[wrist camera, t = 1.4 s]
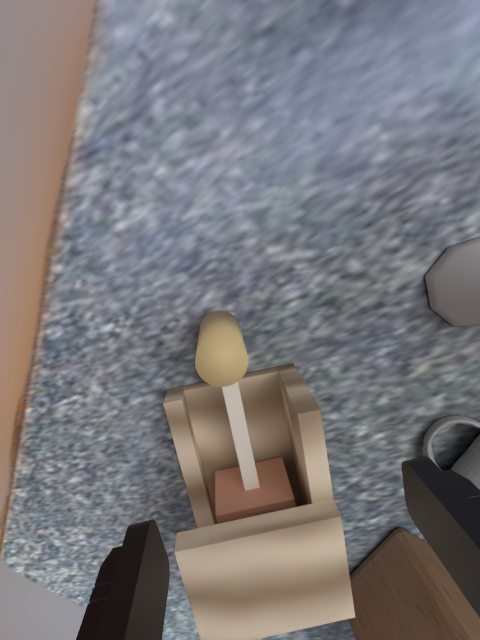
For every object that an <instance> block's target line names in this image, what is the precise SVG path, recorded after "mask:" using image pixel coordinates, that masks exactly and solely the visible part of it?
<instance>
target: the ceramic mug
mask: <svg viewBox="0 0 480 640" xmlns="http://www.w3.org/2000/svg"><path fill="white" fill-rule="evenodd" d="M457 423H461V424H470V425H472V426H474V427H477V428H479V429H480V422H478V421H476V420H473V419H470V418H467V417H464V416H457V415H455V416H447V417H444V418H441V419H439V420H437V421H436V422H435V423H433V424H432V425H431V427H430V428H429V429H428V430H427V432H426V434H425V436H424V440H423V448H424V452H425V455H426V456H427V457H429V458H430V459H431V460H432V461H433V462H434V463H435V464H436V462H435V460H434V457H433V451H432V440H433V438H434V437H435V436H436V434H437V433H439V432H440V431H442V430H444V429H447V428H448V427H449V426H450V425H455V424H457ZM436 465H437V464H436ZM450 470H453V471H454V472H456V473H458V474H460V475H462V476H464V477H465V478H467V479H469V480H470V481H471V482H472V483H473V484H474V485H475V486H476V487H477V488H478V489H479V490H480V434H479V435H478V437H477V438H476V439H475V440H474V442H473V443H472V444H471V445H470V447H469V448H468V449H467V450H466V452H465V453H464V454H463V455H462V456H461V457H460V458H459V459H458V461H457V462H456V463H455V464H454V465H453V467H452V468H451V469H450Z"/></svg>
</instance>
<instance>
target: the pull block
mask: <svg viewBox="0 0 480 640" xmlns="http://www.w3.org/2000/svg"><path fill="white" fill-rule="evenodd" d="M195 366H196V370H197V372H198V374H199V376H200V377H201V378H202V379H203V380H204V381H205V382H207V383H208V384H210V385H213V386H217V387H222V390H223V394H224V399H225V403H226V408H227V412H228V417H229V421H230V426H231V430H232V435H233V439H234V444H235V448H236V453H237V457H238V462H239V466H237V467H232V468H227V469H223V470H218V471H215V509H216V520H217V524H220V523H225V522H229V521H234V520H239V519H243V518H248V517H252V516H257V515H262V514H266V513H271V512H276V511H280V510H285V509H290V508H294V507H296V505H295V499H294V496H293V492H292V489H291V486H290V482H289V479H288V476H287V472H286V469H285V466H284V462H283V459H282V457H279V458H274V459H270V460H265V461H260V462H256V463H255V461H254V456H253V451H252V447H251V442H250V437H249V432H248V427H247V423H246V418H245V413H244V408H243V404H242V399H241V394H240V389H239V384H238V381H239V380H240V379H241V378H242V377H243V376H244V374H245V373H246V371H247V368H248V355H247V352H246V348H245V344H244V340H243V337H242V333H241V329H240V325H239V322H238V320H237V319H236V318H235V317H234V316H233V315H232V314H231V313H229V312H226V311H214V312H211V313H210V314H208V315H207V316H206V317H205V318H204V319H203V320H202V322H201V325H200V331H199V338H198V344H197V351H196V358H195Z"/></svg>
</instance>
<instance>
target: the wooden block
mask: <svg viewBox="0 0 480 640" xmlns="http://www.w3.org/2000/svg"><path fill="white" fill-rule="evenodd" d="M350 583H351V590H352V597H353V604H354V611H355V617H354V618H350V619H349V621H350V624H351V627H352V629H353V632H354V635H355V638H356V640H480V618H479V616H478V615H477V613H476V612H475V610H474V609H473V608H472V606H471V605H470V603H469V602H468V600H467V599H466V597H465V596H464V594H463V593H462V592H461V590H460V589H459V587H458V586H457V584H456V583H455V581H454V580H453V578H452V577H451V576H450V574H449V573H448V571H447V570H446V568H445V567H444V565H443V564H442V562H441V561H440V559H439V558H438V557H437V555H436V554H435V552H434V551H433V549H432V548H431V546H430V545H428V544H427V543H425V542H424V541H422V540H421V539H419V538H418V537H416V536H414V535H413V534H411V533H410V532H408V531H407V530H405V529H403V528H399V529H396V530H394V531H393V532H392V533H391V534H390V535H389V536H388V537H387V538H386V539H385V540H384V541H383V542H382V543H381V544H380V545H379V546H378V547H377V548H376V549H375V551H374V552H373V553H372V554H371V555H370V556H369V557H368V558H367V559H366V560H365V561H364V562H363V563H362V564H361V565H360V566H359V567H358V568H357V569H356V570H355V571H354V572H353V573H352V574H351V575H350Z"/></svg>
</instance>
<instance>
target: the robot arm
mask: <svg viewBox="0 0 480 640" xmlns="http://www.w3.org/2000/svg"><path fill="white" fill-rule="evenodd" d="M402 473H403V483H404V492H405V501H406V505H407V508H408V511H409V513H410V516H411V518H412V520H413V521H414V523H415V525H416V526H417V527H418V529H419V530H420V532H421V533H422V535H423V536H424V538H425V539H426V541H427V542H428V543H429V545H430V546H431V548H432V549H433V551H434V552H435V554H436V555H437V557H438V558H439V559H440V561H441V562H442V564H443V565H444V567H445V568H446V570H447V571H448V573H449V574H450V576H451V577H452V578H453V580H454V581H455V583H456V584H457V586H458V587H459V589H460V590H461V592H462V593H463V594H464V596H465V597H466V599H467V600H468V602H469V603H470V605H471V606H472V608H473V609H474V610H475V612H476V613H477V615H478V616H479V618H480V490H479V489H478V488H477V487H476V486H475V485H474V484H473V483H472V482H471V481H470V480H469V479H467V478H465V477H464V476H462V475H460V474H458V473H456V472H454V471H453V470H447V471H442V470H441V469H440V468H439V467H438V466H437V465H436V464H435V463H434V462H433V461H432V460H431V459H430V458H429V457H427V456H425V457H421V458H416V459H412V460H408V461H404V462H403V463H402ZM169 576H170V572H169V561H168V557H167V553H166V550H165V548H164V545H163V542H162V539H161V536H160V533H159V530H158V527H157V524H156V522H155V521H154V520H149V521H145V522H141V523H136V524H132V525H129V527H128V528H127V531H126V535H125V538H124V542H123V545H122V546H120V547H116V548H113V549H112V551H111V552H110V553H109V555H108V556H107V558H106V559H105V561H104V562H103V564H102V565H101V567H100V570H99V573H98V576H97V579H96V582H95V588H93V591H92V594H91V597H90V600H89V601H90V603H89V604H88V606H87V609H86V612H85V615H84V618H83V621H82V624H81V627H80V630H79V632H78V636H77V638H76V640H162V633H163V625H164V617H165V610H166V602H167V594H168V586H169Z"/></svg>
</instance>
